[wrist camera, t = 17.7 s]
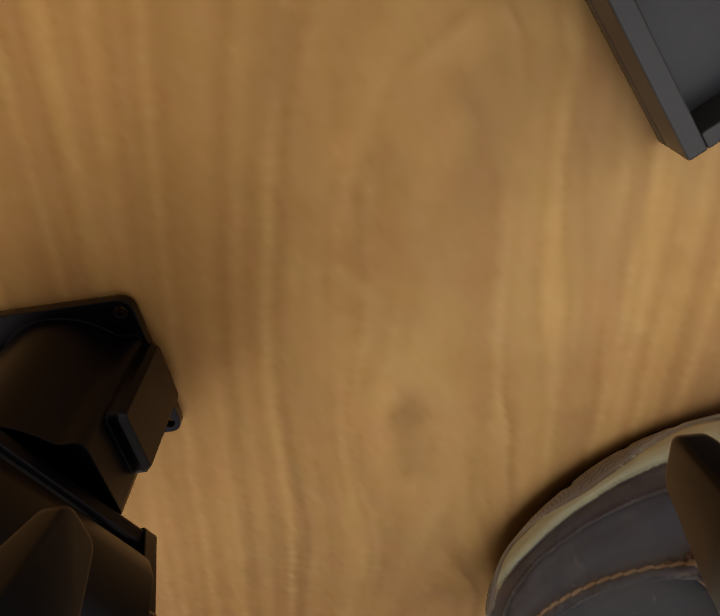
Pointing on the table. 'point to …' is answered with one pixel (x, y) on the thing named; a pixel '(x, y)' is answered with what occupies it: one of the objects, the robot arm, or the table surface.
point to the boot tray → (669, 65)
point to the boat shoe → (607, 544)
